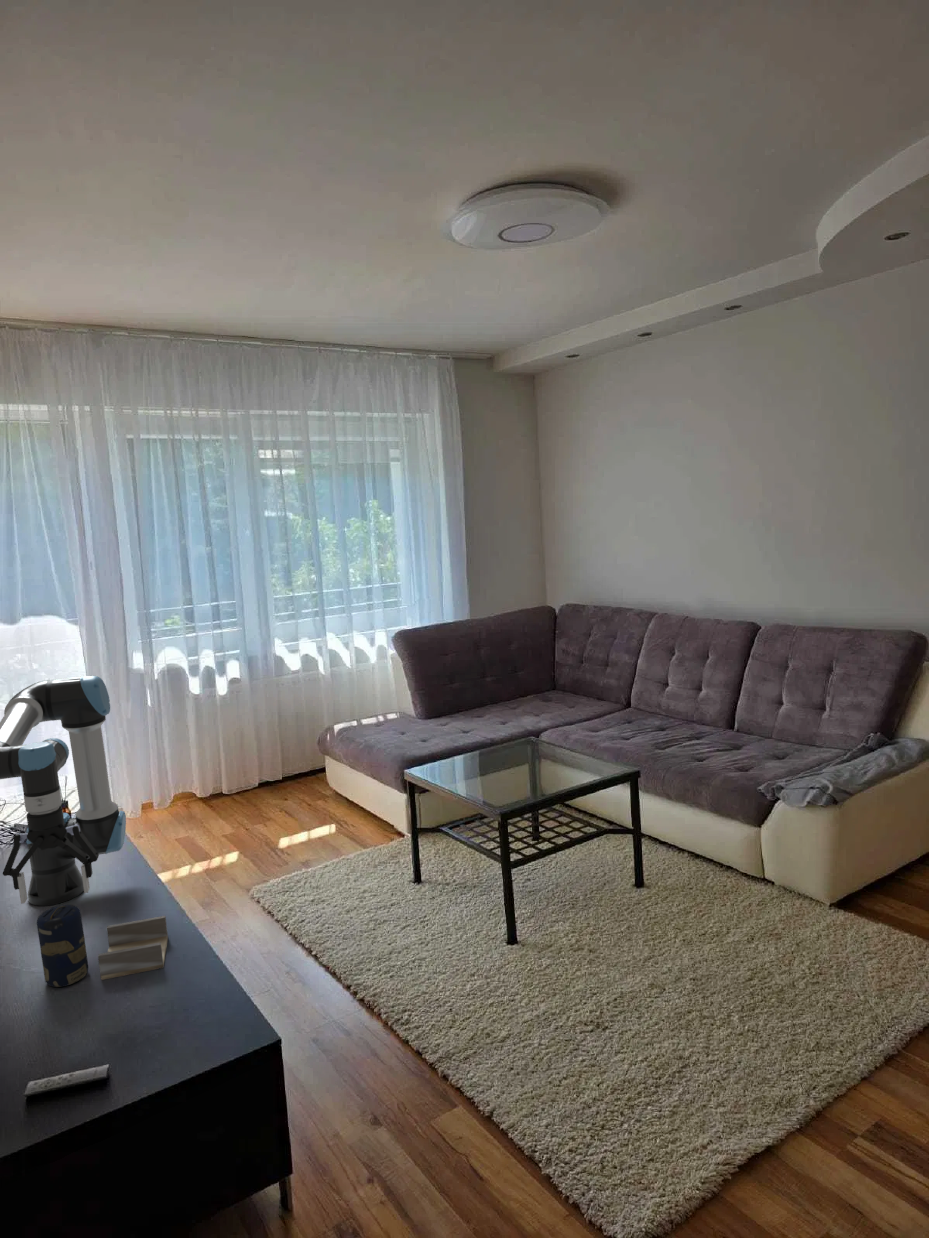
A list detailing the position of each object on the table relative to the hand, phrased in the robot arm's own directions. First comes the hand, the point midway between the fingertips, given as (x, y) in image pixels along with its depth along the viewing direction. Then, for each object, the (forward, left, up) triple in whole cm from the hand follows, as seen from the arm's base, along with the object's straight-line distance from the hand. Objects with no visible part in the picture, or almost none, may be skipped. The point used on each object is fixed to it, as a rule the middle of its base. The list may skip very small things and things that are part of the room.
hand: (55, 895), depth 194 cm
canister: (0, 0, -21) cm, 21 cm away
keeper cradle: (-4, +15, -21) cm, 26 cm away
